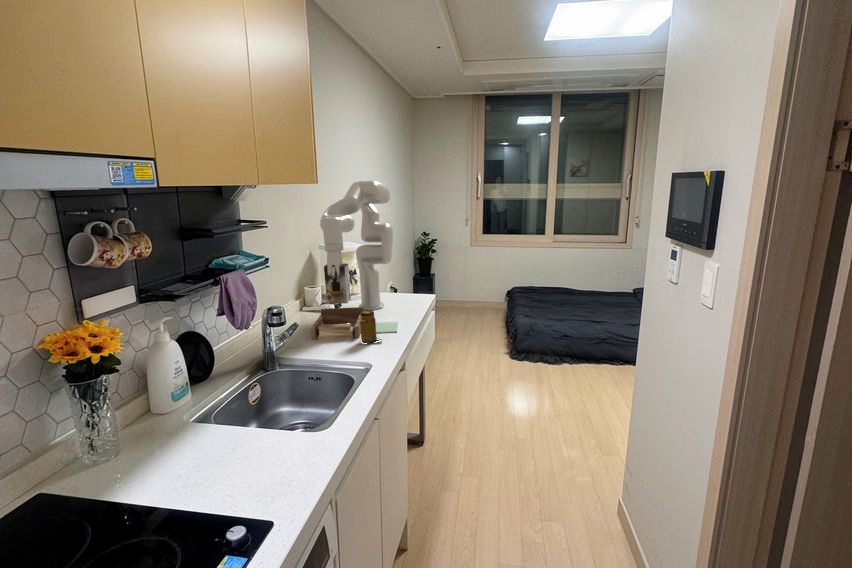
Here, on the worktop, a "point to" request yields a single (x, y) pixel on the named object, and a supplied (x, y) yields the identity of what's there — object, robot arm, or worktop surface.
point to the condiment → (368, 327)
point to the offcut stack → (335, 331)
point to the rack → (338, 319)
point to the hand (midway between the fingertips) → (337, 288)
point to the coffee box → (344, 292)
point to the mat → (386, 327)
